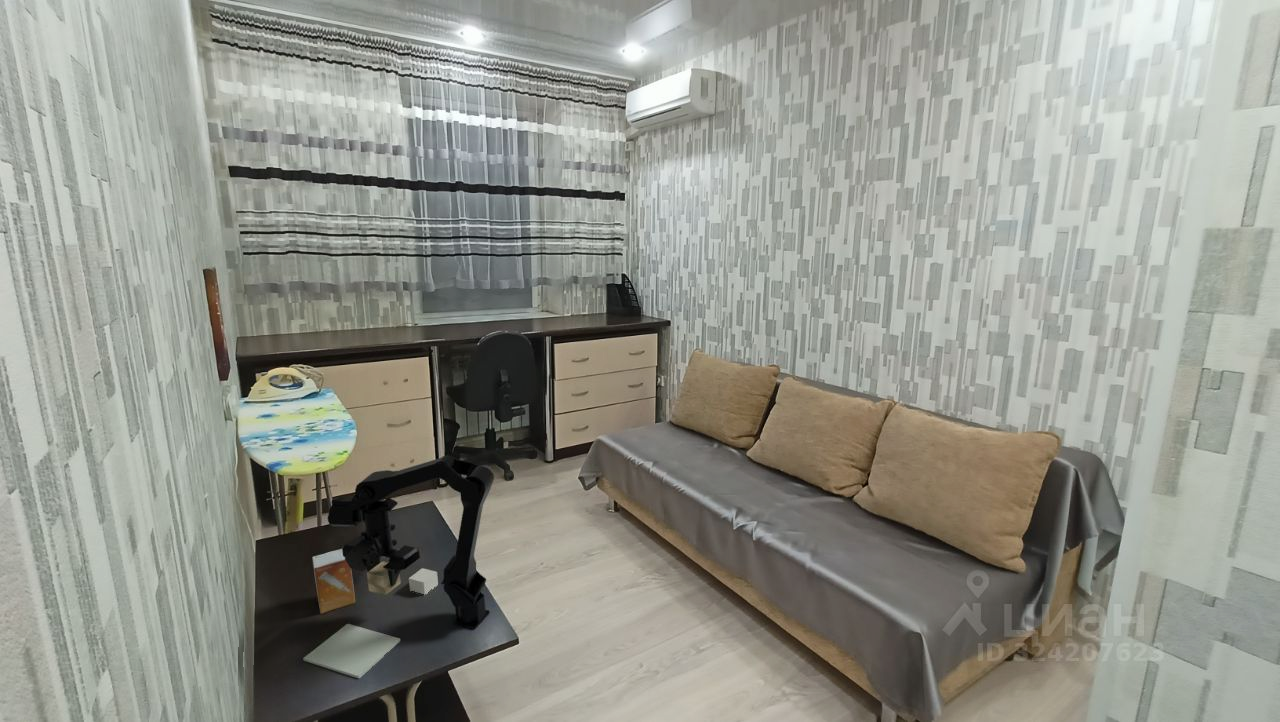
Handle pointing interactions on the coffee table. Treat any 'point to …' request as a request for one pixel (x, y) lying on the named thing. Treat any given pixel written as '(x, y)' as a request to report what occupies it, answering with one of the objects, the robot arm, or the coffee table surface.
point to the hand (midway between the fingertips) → (384, 583)
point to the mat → (352, 650)
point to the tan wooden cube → (380, 580)
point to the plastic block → (423, 581)
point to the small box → (333, 581)
